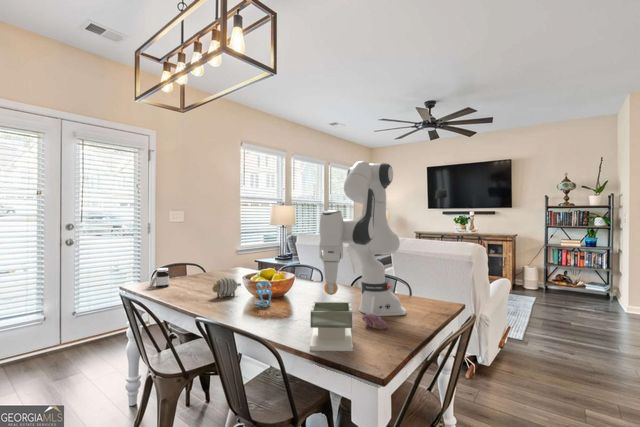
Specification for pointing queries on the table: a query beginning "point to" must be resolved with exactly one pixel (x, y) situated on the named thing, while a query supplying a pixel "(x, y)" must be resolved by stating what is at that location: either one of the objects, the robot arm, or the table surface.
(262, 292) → the light blue lumpy piece
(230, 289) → the toy sheep
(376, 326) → the purple grapes
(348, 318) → the green open box
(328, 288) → the ball
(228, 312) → the table surface
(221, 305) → the table surface
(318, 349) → the white stand
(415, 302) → the table surface
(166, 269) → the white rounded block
